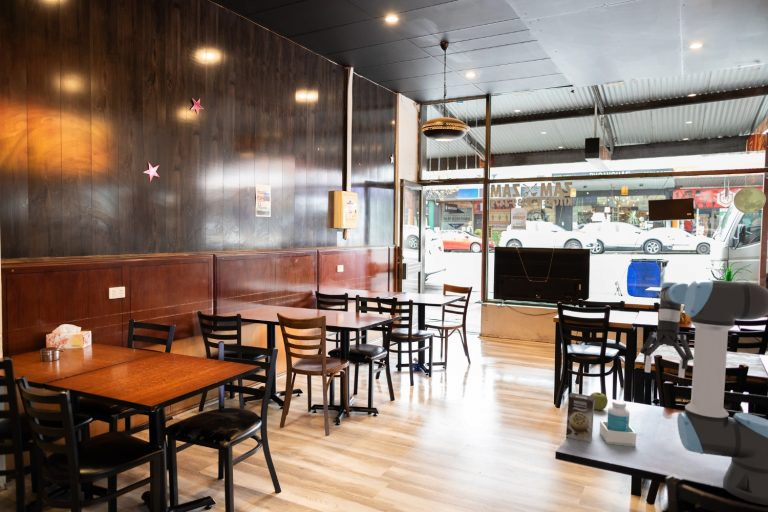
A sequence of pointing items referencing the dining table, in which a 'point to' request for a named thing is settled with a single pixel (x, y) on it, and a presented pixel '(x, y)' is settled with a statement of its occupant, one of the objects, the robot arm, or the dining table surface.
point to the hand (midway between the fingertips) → (663, 374)
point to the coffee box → (580, 417)
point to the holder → (618, 436)
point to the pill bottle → (618, 417)
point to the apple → (599, 401)
